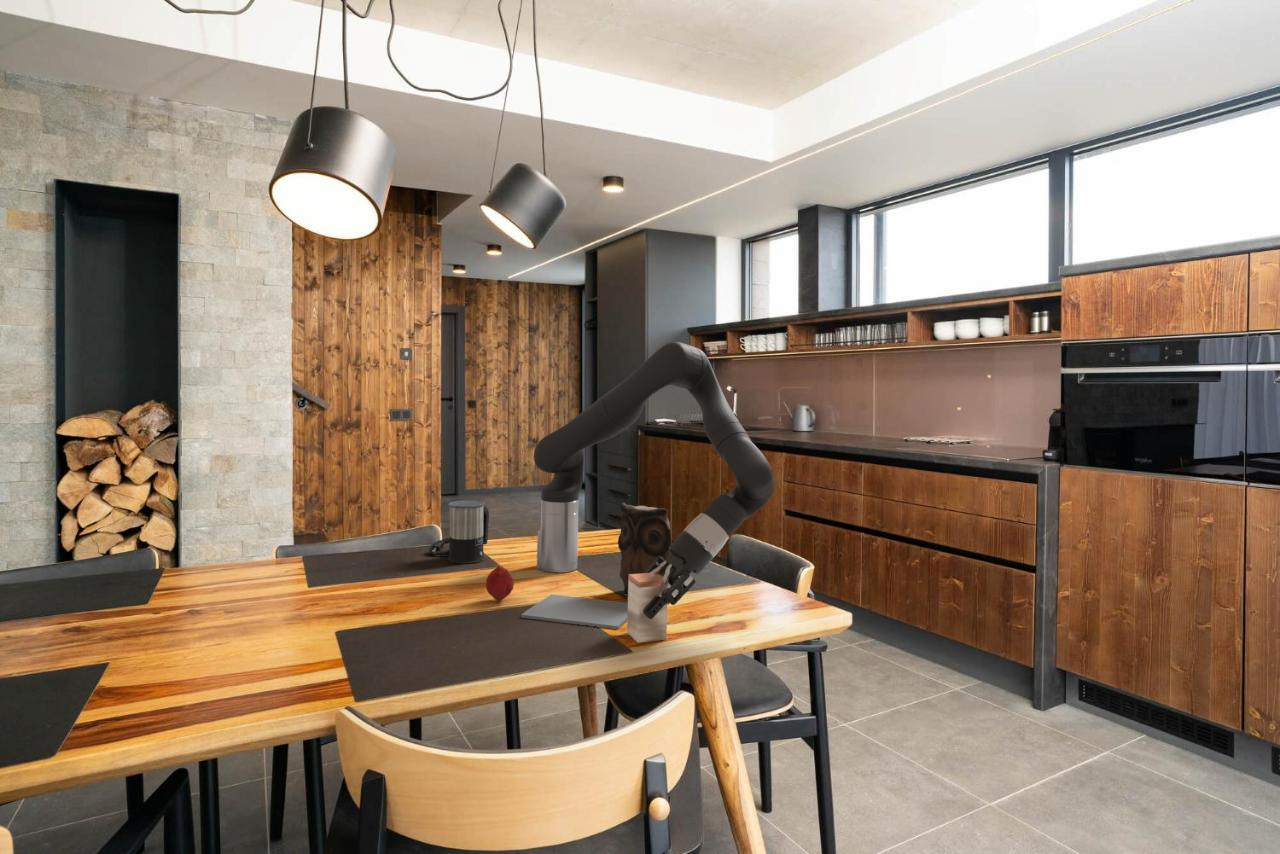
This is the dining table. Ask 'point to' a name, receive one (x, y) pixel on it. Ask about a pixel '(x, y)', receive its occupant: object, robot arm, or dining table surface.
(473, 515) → the milk frother
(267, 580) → the dining table surface
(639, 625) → the block
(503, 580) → the onion
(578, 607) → the mat
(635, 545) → the owl
